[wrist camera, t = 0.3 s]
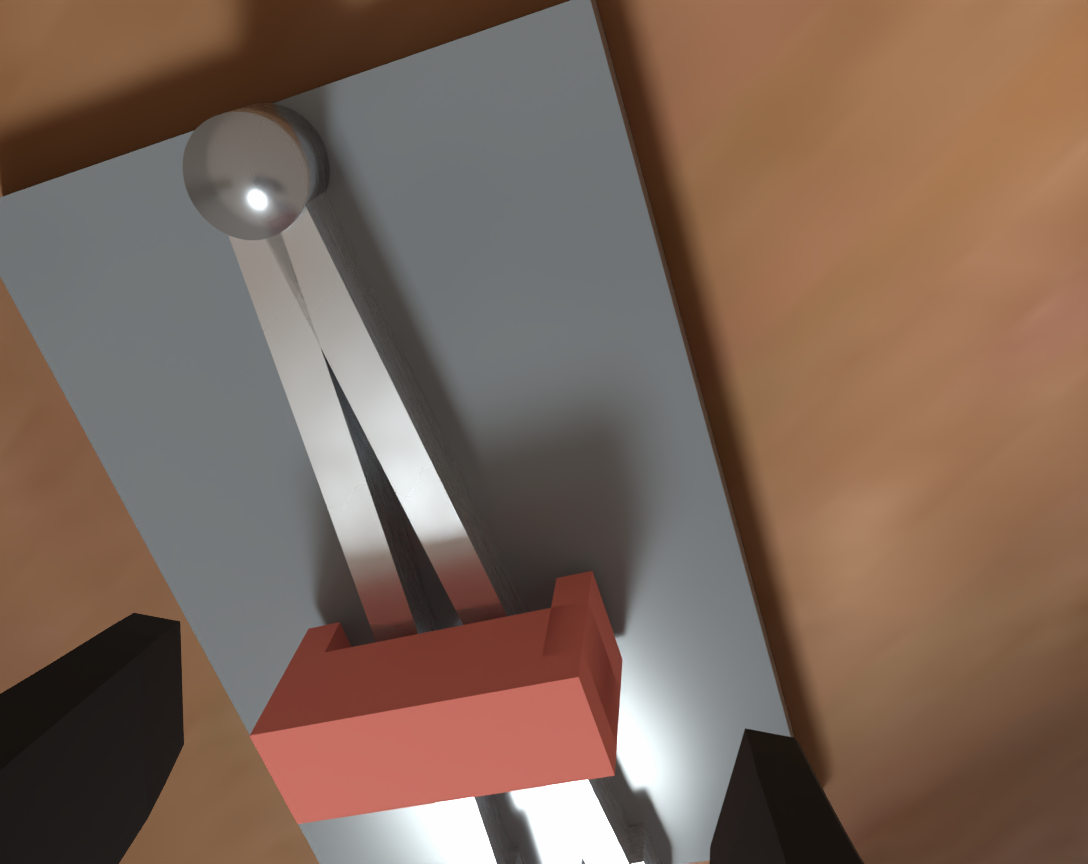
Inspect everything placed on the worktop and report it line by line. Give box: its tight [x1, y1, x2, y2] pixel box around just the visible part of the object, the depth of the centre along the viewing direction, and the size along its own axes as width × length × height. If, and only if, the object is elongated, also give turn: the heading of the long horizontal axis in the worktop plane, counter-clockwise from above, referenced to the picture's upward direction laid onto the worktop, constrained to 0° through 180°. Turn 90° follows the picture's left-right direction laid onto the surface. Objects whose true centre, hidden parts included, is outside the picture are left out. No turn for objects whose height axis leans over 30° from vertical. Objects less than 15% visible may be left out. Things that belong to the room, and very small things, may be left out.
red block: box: [250, 571, 623, 824], centre depth 20 cm, size 2×7×4 cm, turn 108°
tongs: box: [182, 103, 664, 864], centre depth 21 cm, size 21×5×1 cm, turn 18°
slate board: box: [0, 0, 795, 864], centre depth 22 cm, size 20×13×1 cm, turn 18°
